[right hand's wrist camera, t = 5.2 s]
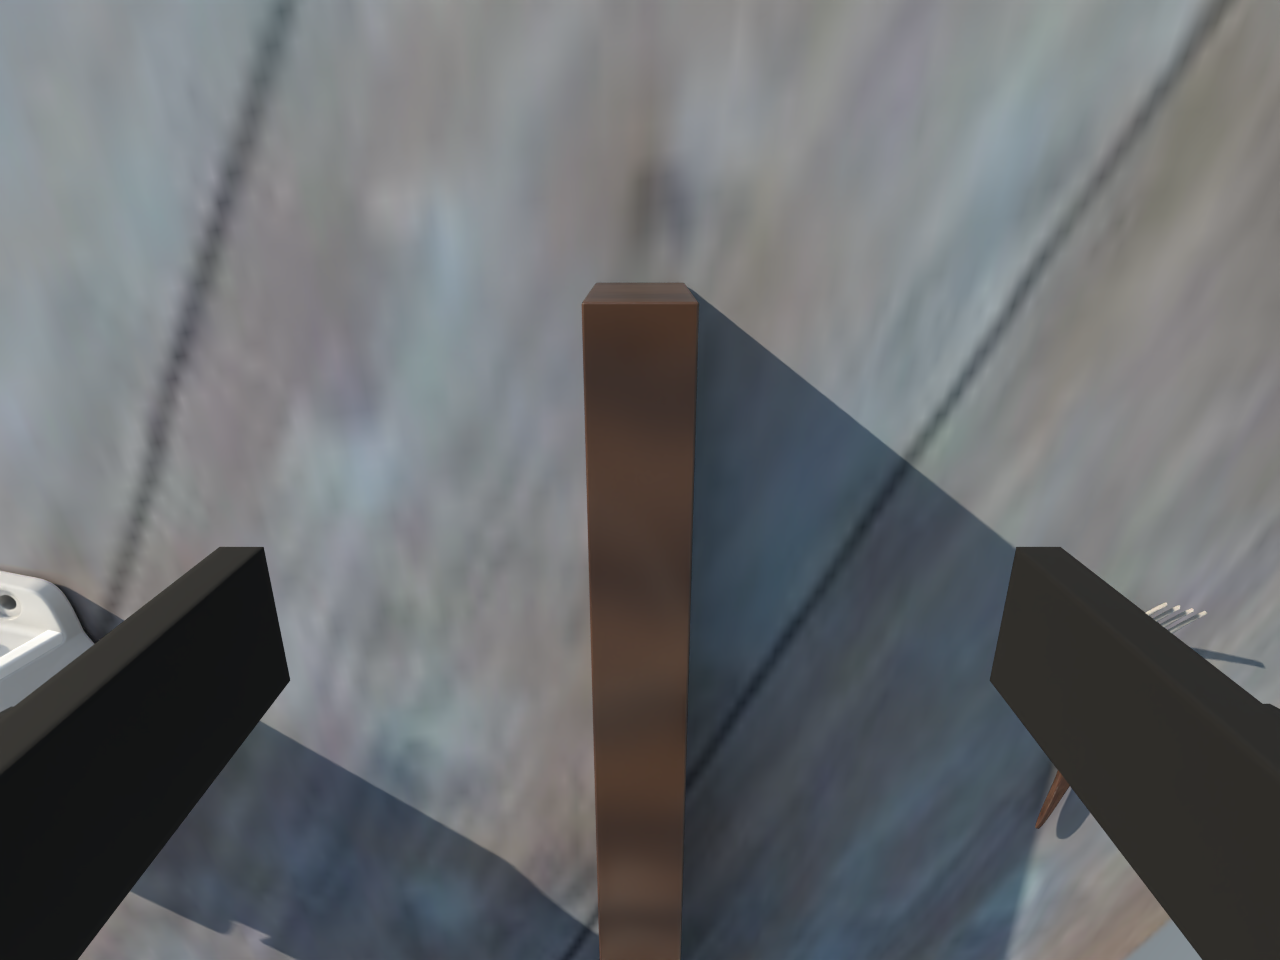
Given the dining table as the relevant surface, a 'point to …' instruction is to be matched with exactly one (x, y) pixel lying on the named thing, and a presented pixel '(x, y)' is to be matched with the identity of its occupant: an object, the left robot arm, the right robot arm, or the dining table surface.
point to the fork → (1059, 782)
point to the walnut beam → (640, 601)
